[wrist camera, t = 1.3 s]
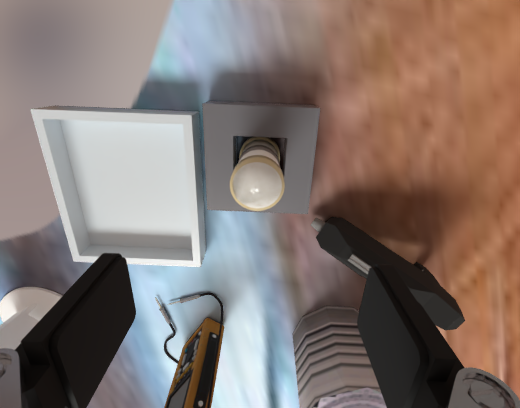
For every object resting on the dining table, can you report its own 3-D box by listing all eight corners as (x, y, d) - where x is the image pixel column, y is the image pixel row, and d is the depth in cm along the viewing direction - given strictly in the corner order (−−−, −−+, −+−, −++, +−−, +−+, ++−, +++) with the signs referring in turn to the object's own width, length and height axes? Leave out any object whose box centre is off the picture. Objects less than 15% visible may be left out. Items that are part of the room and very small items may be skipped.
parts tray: (54, 105, 27) (30, 109, 25) (199, 111, 27) (191, 115, 24) (89, 246, 34) (73, 261, 31) (206, 251, 34) (200, 267, 31)
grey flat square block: (209, 100, 27) (202, 103, 24) (314, 104, 27) (320, 108, 24) (212, 197, 31) (207, 209, 28) (304, 201, 31) (307, 214, 28)
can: (279, 351, 41) (283, 452, 30) (312, 294, 36) (332, 388, 25) (350, 371, 42) (379, 475, 31) (391, 319, 38) (442, 418, 27)
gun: (334, 199, 37) (314, 216, 28) (455, 278, 32) (477, 327, 24) (323, 216, 38) (299, 238, 29) (438, 295, 33) (452, 348, 25)
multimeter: (172, 270, 35) (70, 480, 17) (240, 306, 37) (214, 526, 19) (126, 339, 40) (10, 556, 22) (188, 367, 43) (128, 586, 24)
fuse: (240, 134, 28) (229, 158, 20) (280, 135, 28) (286, 160, 20) (240, 172, 30) (229, 209, 22) (278, 174, 30) (282, 211, 21)
